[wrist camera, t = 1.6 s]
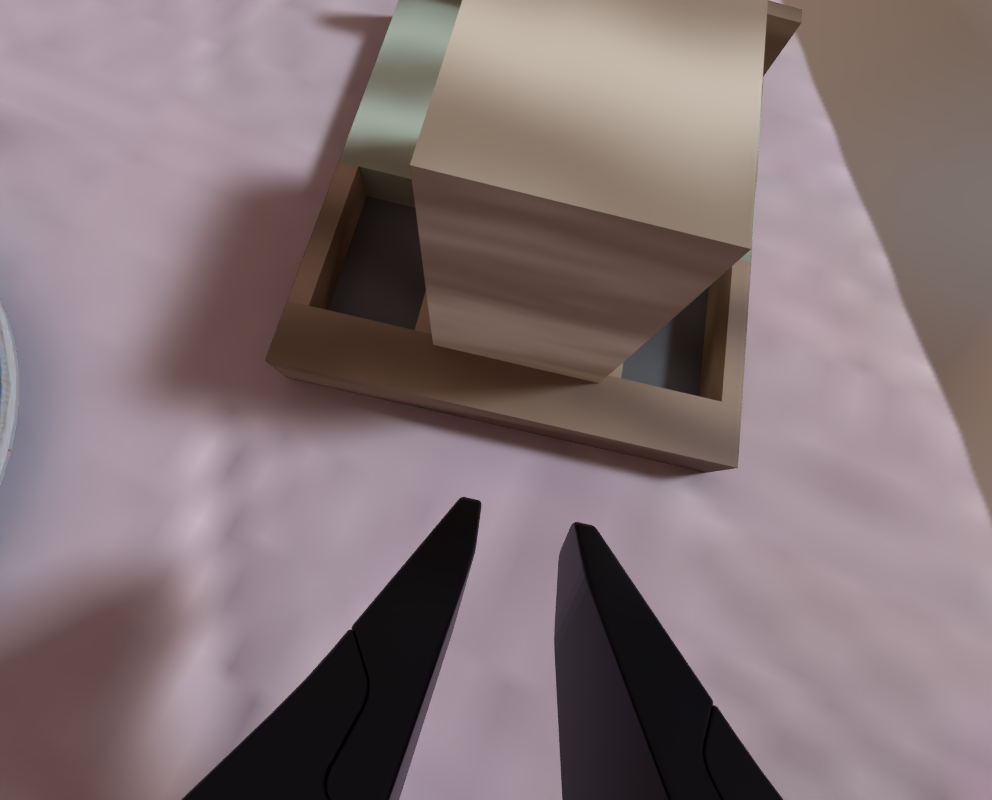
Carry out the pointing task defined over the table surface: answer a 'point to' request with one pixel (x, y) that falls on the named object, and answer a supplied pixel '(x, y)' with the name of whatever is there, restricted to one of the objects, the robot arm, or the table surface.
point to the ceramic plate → (7, 390)
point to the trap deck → (473, 378)
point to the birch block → (585, 173)
